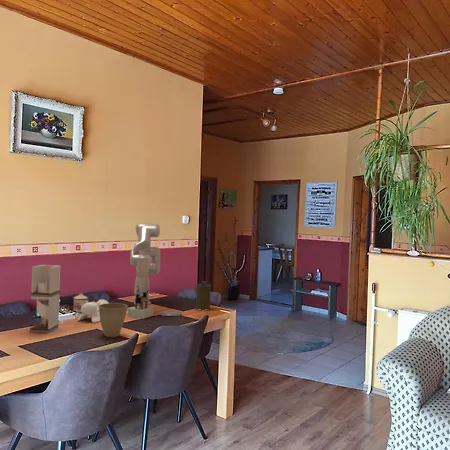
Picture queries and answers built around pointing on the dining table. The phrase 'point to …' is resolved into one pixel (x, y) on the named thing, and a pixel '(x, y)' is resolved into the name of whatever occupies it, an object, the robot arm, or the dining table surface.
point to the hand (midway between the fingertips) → (141, 302)
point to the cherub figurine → (91, 310)
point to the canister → (203, 296)
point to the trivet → (170, 313)
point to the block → (140, 312)
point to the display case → (46, 296)
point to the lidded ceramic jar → (79, 302)
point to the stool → (143, 299)
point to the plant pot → (112, 318)
